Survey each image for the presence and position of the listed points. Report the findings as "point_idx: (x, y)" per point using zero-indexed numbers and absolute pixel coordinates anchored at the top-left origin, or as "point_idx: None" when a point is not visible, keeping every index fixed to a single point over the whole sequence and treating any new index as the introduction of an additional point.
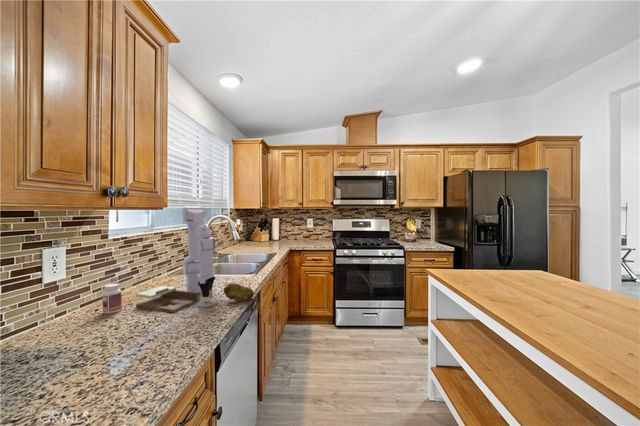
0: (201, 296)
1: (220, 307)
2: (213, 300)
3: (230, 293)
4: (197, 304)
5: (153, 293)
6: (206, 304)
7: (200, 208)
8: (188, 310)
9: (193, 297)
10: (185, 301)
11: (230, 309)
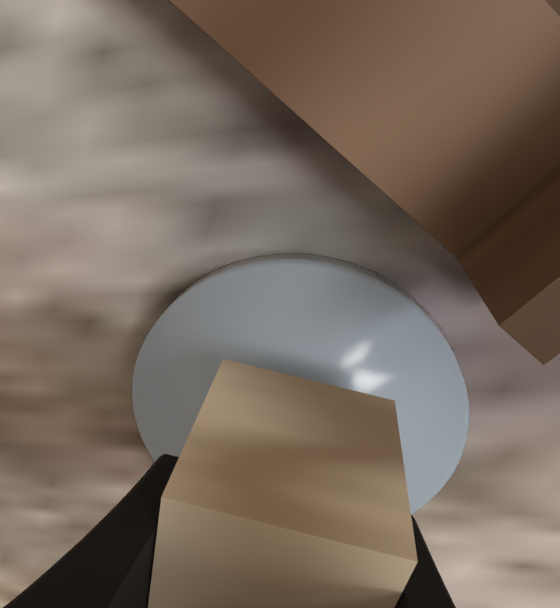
0: (192, 434)
1: None
2: None
3: None
4: (224, 288)
5: None
6: (178, 410)
7: None
8: (74, 144)
9: (526, 226)
10: (479, 29)
11: (21, 581)
